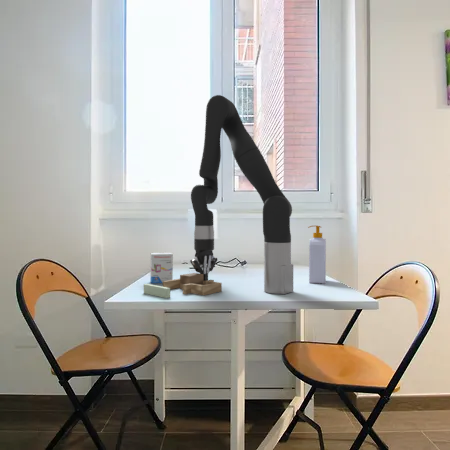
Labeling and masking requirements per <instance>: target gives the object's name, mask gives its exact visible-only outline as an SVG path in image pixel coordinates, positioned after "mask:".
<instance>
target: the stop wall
mask: <svg viewBox="0 0 450 450" xmlns="http://www.w3.org/2000/svg"><path fill="white" fill-rule="evenodd" d="M143 294H146V295H151V296H154V297H155V296H156V297H161V298H163V299H164V298H165V299H169V298H171V289H170V288H167V287H163V285H162V286H161V285H157V284H156V285H155V284H152V283H144V284H143Z"/></svg>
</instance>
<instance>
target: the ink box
mask: <svg viewBox="0 0 450 450" xmlns="http://www.w3.org/2000/svg"><path fill="white" fill-rule="evenodd" d="M173 254H174V253H173V252H151V253H150V284H163V281H168V280H174V279H173V278H174V277H173V276H174V274H173V271H174V267H173V266H174V264H173V262H174V257H173Z"/></svg>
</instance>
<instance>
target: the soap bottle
mask: <svg viewBox="0 0 450 450" xmlns="http://www.w3.org/2000/svg"><path fill="white" fill-rule="evenodd" d="M311 227H314V225H310V226H307V228H308V229H309V228H311ZM320 228H322V226H320V225H315V232H313V233H312V238H309V242H308V243H309V245H308V246H309V247H308V249H309V250H308V252H309V253H308V254H309V255H308V257H309V258H308V260H309V261H308V262H309V263H308V265H309V268H308V271H309V272H308V273H309V274H308V281H309V284H320V283H322V284H321V285H326V282H327V281H326V280H327V279H326V275H327V274H326V271H327V270H326V269H327V268H326V267H327V265H326V264H327V263H326V261H327V260H326V259H327V254H326V251H327V245H326V244H327V240H326V238H324V237H323V232H320Z"/></svg>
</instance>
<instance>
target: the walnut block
mask: <svg viewBox="0 0 450 450" xmlns="http://www.w3.org/2000/svg"><path fill="white" fill-rule="evenodd" d="M179 279H180V288H179V289H181V290H183V285H184V284H189V283H193V284H199V285H203V274H200V273H199V272H192V273H184V274H179Z"/></svg>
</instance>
